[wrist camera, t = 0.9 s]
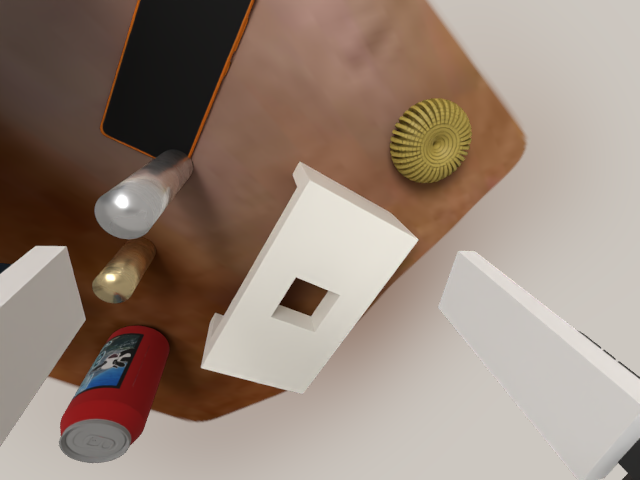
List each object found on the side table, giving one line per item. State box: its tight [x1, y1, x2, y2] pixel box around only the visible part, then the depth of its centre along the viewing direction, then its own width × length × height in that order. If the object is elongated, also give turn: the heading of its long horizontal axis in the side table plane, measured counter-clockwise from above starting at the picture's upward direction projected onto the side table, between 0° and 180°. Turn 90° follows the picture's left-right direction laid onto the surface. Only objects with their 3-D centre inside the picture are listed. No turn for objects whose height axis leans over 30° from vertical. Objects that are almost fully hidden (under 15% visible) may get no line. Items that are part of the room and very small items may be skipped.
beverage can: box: [59, 326, 169, 463], centre depth 32 cm, size 7×7×12 cm
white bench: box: [201, 162, 418, 394], centre depth 34 cm, size 12×22×7 cm, turn 149°
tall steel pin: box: [95, 149, 193, 239], centre depth 24 cm, size 3×3×13 cm
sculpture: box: [390, 98, 472, 183], centre depth 31 cm, size 8×4×8 cm
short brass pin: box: [92, 237, 156, 303], centre depth 30 cm, size 3×3×7 cm
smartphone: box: [100, 0, 255, 159], centre depth 26 cm, size 8×17×1 cm, turn 150°
